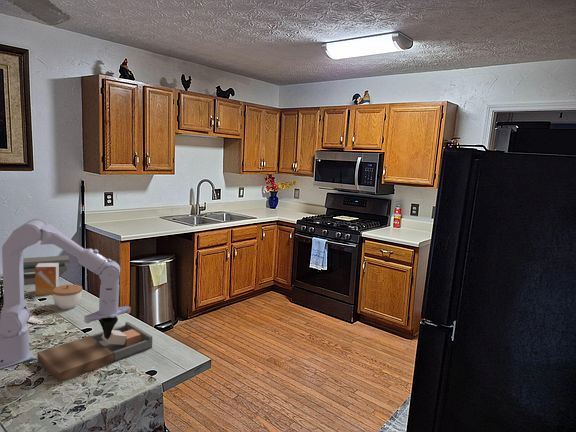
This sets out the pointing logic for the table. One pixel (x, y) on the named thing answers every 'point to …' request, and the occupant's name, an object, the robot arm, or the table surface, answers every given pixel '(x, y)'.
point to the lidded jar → (67, 296)
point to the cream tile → (116, 338)
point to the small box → (46, 278)
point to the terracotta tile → (132, 337)
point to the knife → (35, 320)
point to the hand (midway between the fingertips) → (107, 337)
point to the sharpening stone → (31, 263)
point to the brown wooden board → (74, 358)
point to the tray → (122, 350)
